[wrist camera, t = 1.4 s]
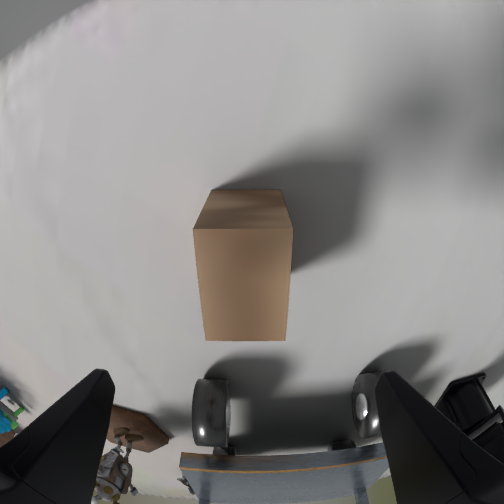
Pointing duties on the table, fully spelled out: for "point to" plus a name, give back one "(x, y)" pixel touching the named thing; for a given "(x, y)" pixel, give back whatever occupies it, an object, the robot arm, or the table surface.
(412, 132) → the table surface
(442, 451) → the robot arm
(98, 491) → the robot figurine
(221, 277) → the block
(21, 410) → the blue irregular piece
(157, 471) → the table surface
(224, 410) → the trolley
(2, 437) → the tissue box cover
